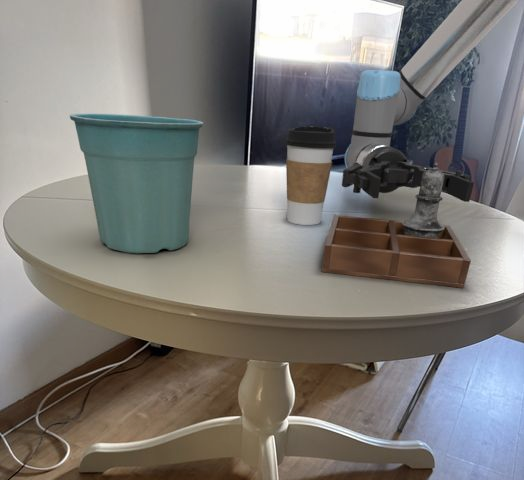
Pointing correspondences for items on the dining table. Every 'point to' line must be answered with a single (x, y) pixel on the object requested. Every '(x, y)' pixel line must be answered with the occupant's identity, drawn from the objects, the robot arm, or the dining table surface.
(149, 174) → the flower pot
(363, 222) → the tray
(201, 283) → the dining table surface
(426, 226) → the salt shaker
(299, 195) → the coffee cup
